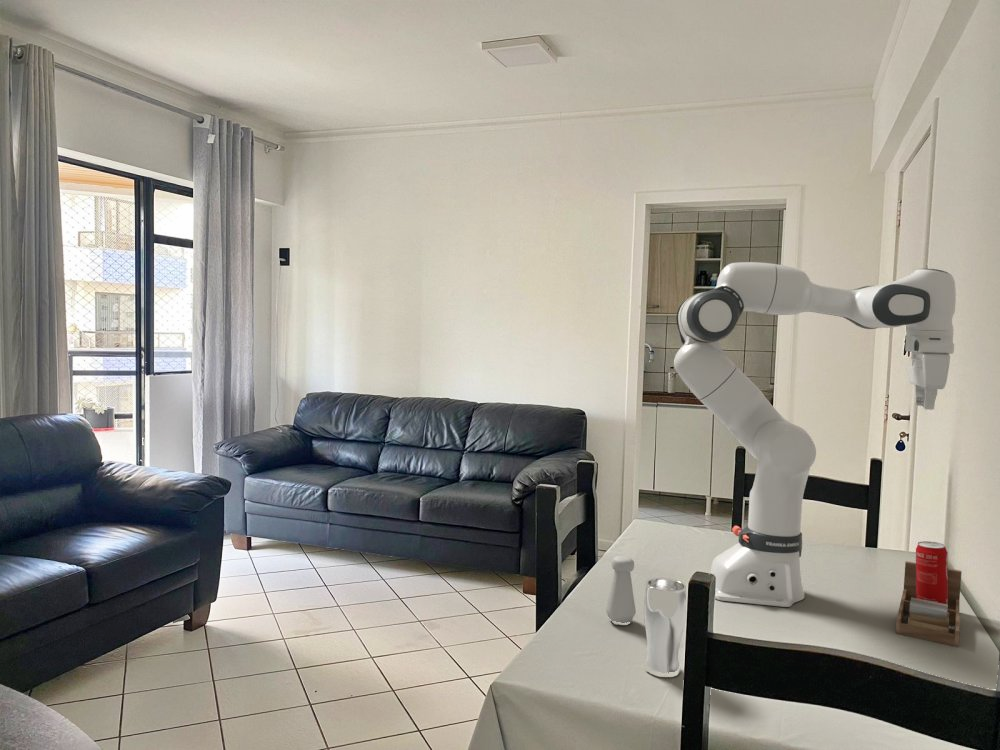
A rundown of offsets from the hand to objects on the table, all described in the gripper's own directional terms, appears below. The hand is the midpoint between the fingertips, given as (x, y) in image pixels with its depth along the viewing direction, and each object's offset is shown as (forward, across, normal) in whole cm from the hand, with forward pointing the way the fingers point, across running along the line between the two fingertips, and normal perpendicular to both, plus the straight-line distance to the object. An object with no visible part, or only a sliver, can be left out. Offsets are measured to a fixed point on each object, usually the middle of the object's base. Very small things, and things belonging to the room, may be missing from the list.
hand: (924, 407), depth 158 cm
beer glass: (+44, +58, -47) cm, 86 cm away
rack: (+43, +13, +1) cm, 45 cm away
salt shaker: (+44, +40, -57) cm, 82 cm away
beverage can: (+43, +8, +2) cm, 44 cm away
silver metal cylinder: (+43, +16, +1) cm, 46 cm away
